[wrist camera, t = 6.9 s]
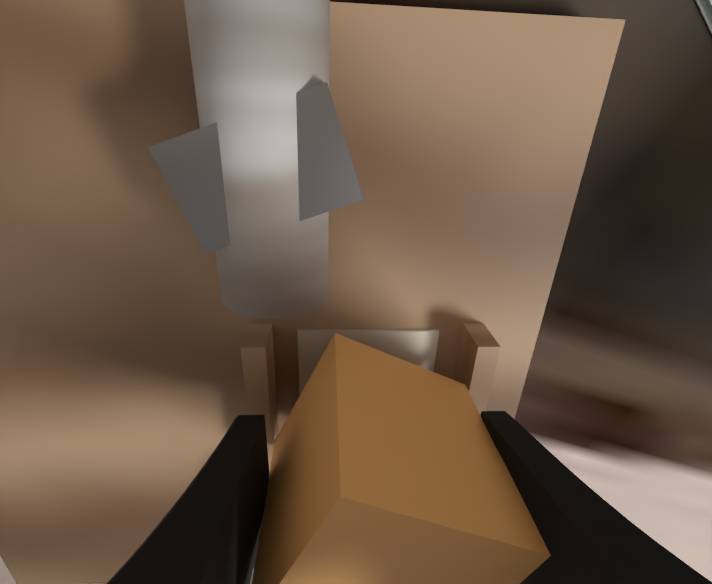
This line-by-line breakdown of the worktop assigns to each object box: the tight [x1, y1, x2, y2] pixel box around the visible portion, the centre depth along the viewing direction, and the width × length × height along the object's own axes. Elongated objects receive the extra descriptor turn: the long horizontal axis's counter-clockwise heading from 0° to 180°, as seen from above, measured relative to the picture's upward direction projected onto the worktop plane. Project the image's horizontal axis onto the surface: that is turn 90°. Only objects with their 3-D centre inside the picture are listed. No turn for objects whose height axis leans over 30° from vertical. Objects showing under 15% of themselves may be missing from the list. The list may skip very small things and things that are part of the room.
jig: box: [0, 0, 625, 584], centre depth 11 cm, size 19×18×3 cm
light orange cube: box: [252, 333, 551, 584], centre depth 9 cm, size 4×4×4 cm
